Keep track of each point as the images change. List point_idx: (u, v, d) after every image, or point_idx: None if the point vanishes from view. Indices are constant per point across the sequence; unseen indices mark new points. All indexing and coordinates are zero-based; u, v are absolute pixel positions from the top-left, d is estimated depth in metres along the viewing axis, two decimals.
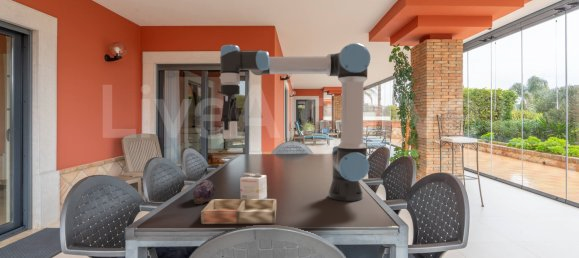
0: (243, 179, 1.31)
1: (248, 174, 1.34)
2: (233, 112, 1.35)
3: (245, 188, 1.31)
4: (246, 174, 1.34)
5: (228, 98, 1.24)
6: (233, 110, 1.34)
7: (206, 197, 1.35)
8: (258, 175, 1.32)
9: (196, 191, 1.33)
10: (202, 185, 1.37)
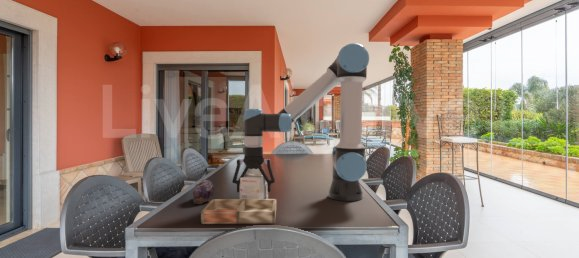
0: (243, 179, 1.31)
1: (248, 174, 1.34)
2: (262, 174, 1.34)
3: (245, 188, 1.31)
4: (246, 174, 1.34)
5: (237, 162, 1.33)
6: None
7: (206, 197, 1.35)
8: (258, 175, 1.32)
9: (196, 191, 1.33)
10: (202, 185, 1.37)
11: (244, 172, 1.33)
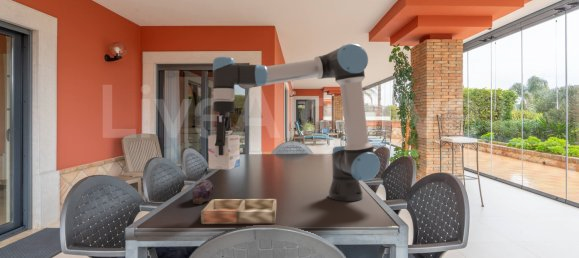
0: (230, 138, 1.14)
1: None
2: (227, 132, 1.21)
3: (232, 147, 1.15)
4: None
5: (222, 119, 1.10)
6: (227, 130, 1.20)
7: (205, 197, 1.35)
8: (229, 133, 1.20)
9: (195, 191, 1.33)
10: (201, 185, 1.37)
11: (225, 130, 1.14)
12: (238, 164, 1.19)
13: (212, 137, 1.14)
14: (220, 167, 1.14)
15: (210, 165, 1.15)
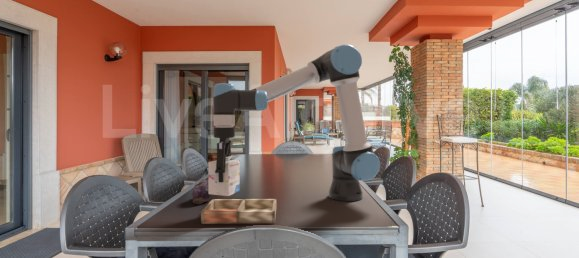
0: (230, 164, 1.14)
1: None
2: None
3: (232, 173, 1.15)
4: None
5: (222, 146, 1.11)
6: (227, 155, 1.21)
7: (205, 197, 1.35)
8: (229, 158, 1.20)
9: (195, 191, 1.33)
10: (201, 185, 1.37)
11: (225, 157, 1.14)
12: (238, 189, 1.20)
13: (212, 163, 1.14)
14: (220, 193, 1.14)
15: (210, 191, 1.15)
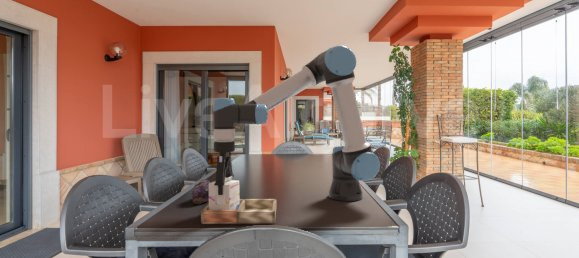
0: (231, 185, 1.14)
1: None
2: (227, 169, 1.22)
3: (232, 195, 1.15)
4: None
5: (222, 159, 1.11)
6: (227, 167, 1.21)
7: (205, 197, 1.35)
8: (229, 178, 1.20)
9: (195, 191, 1.33)
10: (201, 185, 1.37)
11: (225, 170, 1.13)
12: None
13: (212, 185, 1.14)
14: None
15: None
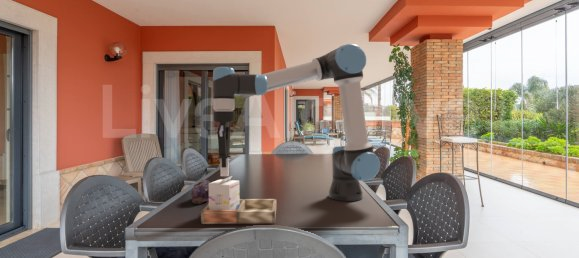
0: (231, 185, 1.14)
1: (224, 180, 1.15)
2: None
3: (232, 195, 1.15)
4: (223, 181, 1.15)
5: (223, 134, 1.11)
6: (226, 140, 1.18)
7: (204, 197, 1.35)
8: (229, 178, 1.20)
9: (194, 191, 1.33)
10: (200, 185, 1.38)
11: (227, 142, 1.16)
12: None
13: (212, 185, 1.14)
14: None
15: None
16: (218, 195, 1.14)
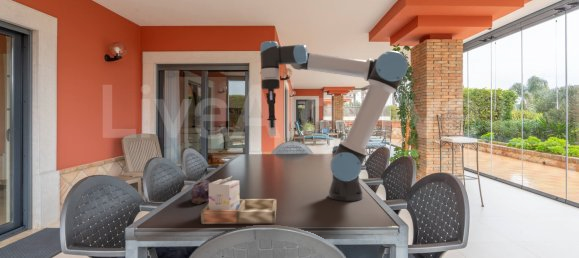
0: (231, 185, 1.14)
1: (224, 180, 1.15)
2: None
3: (232, 195, 1.15)
4: (223, 181, 1.15)
5: (272, 98, 1.31)
6: None
7: (204, 197, 1.35)
8: (229, 178, 1.20)
9: (194, 191, 1.33)
10: (200, 185, 1.38)
11: None
12: None
13: (212, 185, 1.14)
14: None
15: None
16: (218, 195, 1.14)
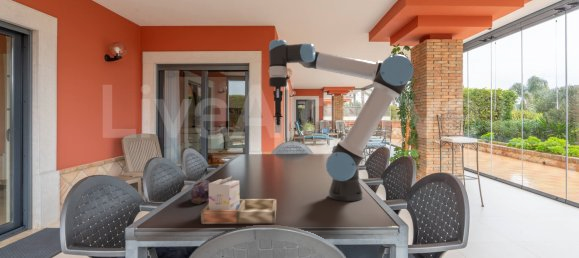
0: (231, 185, 1.14)
1: (224, 180, 1.15)
2: None
3: (232, 195, 1.15)
4: (223, 181, 1.15)
5: (279, 96, 1.33)
6: None
7: (204, 197, 1.35)
8: (229, 178, 1.20)
9: (193, 191, 1.34)
10: (200, 185, 1.38)
11: None
12: None
13: (212, 185, 1.14)
14: None
15: None
16: (218, 195, 1.14)
